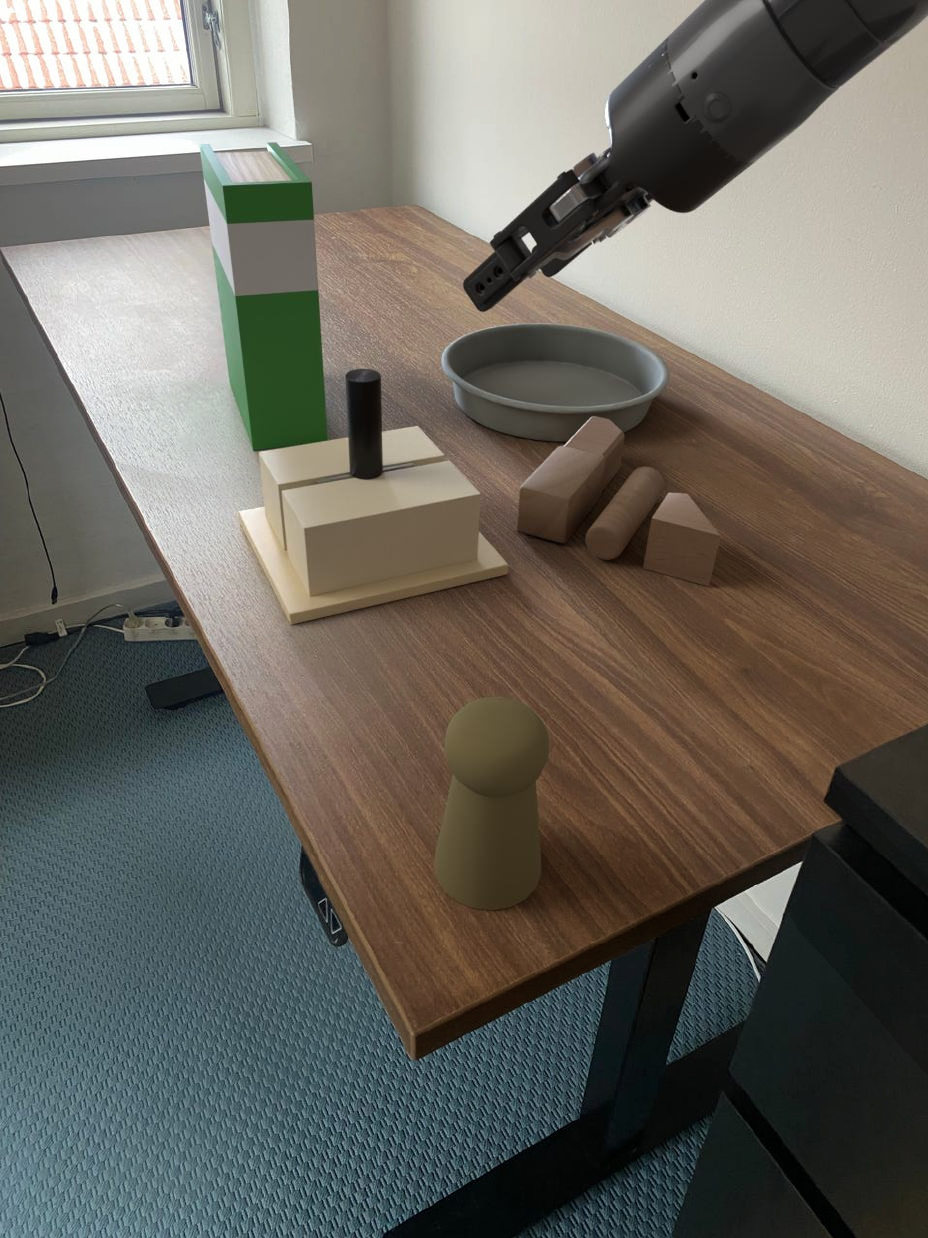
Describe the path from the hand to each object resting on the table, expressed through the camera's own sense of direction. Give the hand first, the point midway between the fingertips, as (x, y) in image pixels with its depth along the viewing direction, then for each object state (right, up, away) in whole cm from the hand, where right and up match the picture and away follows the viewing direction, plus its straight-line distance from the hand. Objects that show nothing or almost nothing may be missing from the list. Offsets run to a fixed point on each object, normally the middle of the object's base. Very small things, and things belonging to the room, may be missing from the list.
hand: (508, 280), depth 58 cm
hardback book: (-23, +1, +40) cm, 46 cm away
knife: (-11, -14, +18) cm, 26 cm away
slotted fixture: (-11, -15, +19) cm, 27 cm away
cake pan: (+7, +3, +44) cm, 45 cm away
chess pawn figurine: (-2, -35, -7) cm, 36 cm away
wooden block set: (+13, -12, +25) cm, 30 cm away
